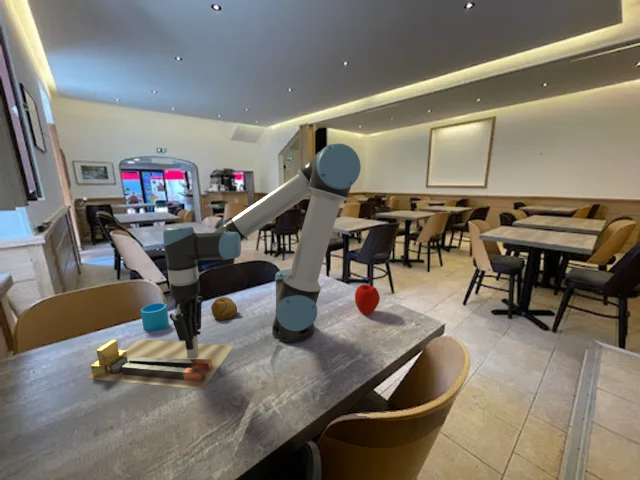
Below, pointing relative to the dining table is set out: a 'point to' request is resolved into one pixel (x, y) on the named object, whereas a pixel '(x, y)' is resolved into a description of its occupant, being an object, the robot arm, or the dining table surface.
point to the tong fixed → (156, 371)
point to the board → (174, 352)
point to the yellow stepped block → (106, 358)
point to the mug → (155, 317)
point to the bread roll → (223, 308)
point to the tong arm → (174, 362)
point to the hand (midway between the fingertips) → (193, 356)
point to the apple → (366, 299)
